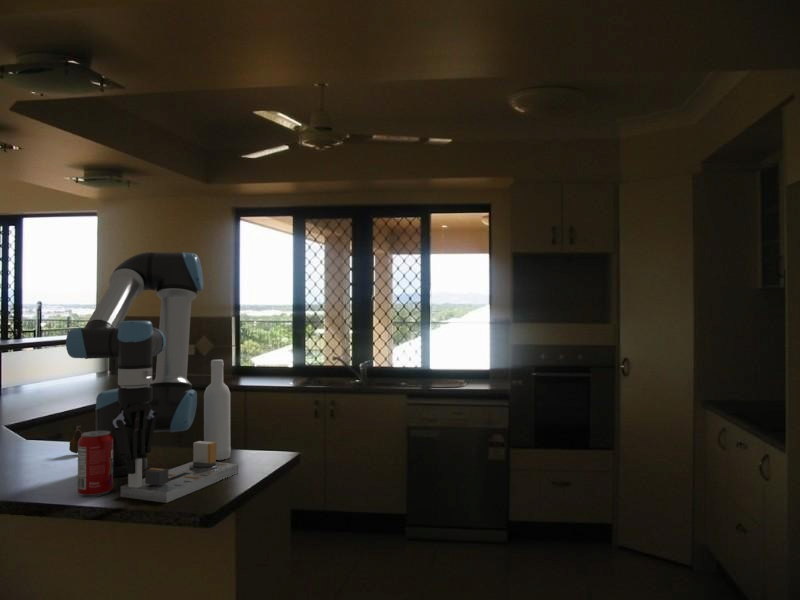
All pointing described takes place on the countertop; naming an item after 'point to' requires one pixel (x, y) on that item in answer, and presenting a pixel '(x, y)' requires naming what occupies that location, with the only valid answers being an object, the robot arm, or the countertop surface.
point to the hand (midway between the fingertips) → (135, 486)
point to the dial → (204, 454)
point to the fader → (156, 476)
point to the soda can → (95, 463)
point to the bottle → (217, 412)
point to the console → (181, 482)
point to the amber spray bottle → (75, 440)
